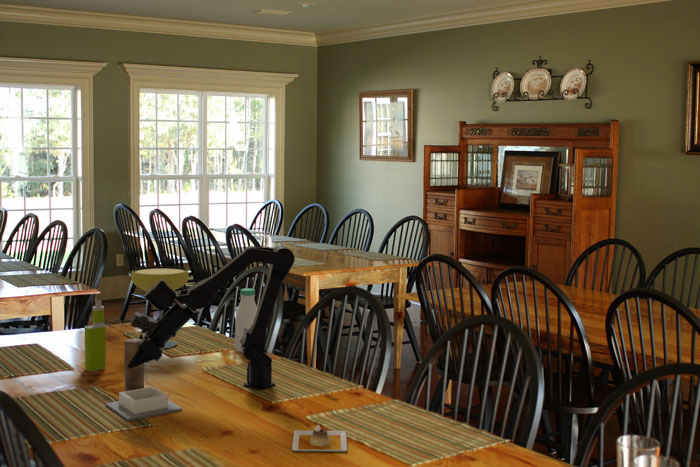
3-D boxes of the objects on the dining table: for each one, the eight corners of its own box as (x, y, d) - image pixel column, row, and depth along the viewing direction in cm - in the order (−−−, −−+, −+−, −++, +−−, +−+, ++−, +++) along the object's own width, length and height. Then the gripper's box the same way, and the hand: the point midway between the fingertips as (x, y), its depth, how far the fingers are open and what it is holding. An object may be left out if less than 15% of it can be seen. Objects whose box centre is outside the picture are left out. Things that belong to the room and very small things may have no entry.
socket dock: (157, 396, 210) (157, 382, 209) (181, 410, 199) (181, 396, 198) (105, 405, 201) (105, 391, 201) (128, 421, 190) (127, 406, 190)
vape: (108, 368, 235) (107, 300, 232) (89, 371, 230) (88, 303, 228) (102, 365, 237) (101, 299, 235) (83, 368, 233) (82, 301, 231)
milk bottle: (247, 354, 253) (247, 292, 251) (230, 350, 258) (230, 289, 256) (264, 350, 260) (264, 289, 257) (247, 346, 264) (247, 286, 262)
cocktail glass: (146, 355, 250) (146, 276, 247) (122, 343, 263) (122, 268, 261) (198, 347, 261) (198, 271, 258) (172, 336, 275) (172, 264, 272)
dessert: (345, 435, 186) (346, 415, 185) (347, 455, 174) (347, 434, 173) (294, 435, 185) (294, 414, 185) (291, 454, 173) (292, 433, 173)
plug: (148, 388, 214) (147, 340, 212) (132, 392, 210) (132, 344, 208) (136, 384, 217) (135, 337, 215) (120, 389, 213) (120, 341, 211)
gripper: (149, 295, 221) (108, 336, 219) (148, 309, 203) (103, 353, 201) (178, 322, 223) (138, 363, 222) (180, 338, 205) (136, 382, 204)
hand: (128, 364), depth 212 cm, fingers closed on plug, 5 cm apart
